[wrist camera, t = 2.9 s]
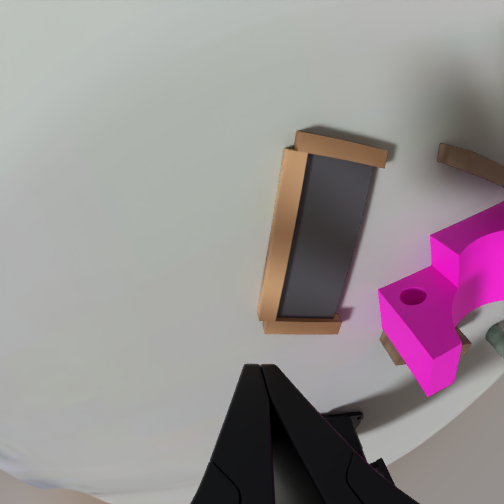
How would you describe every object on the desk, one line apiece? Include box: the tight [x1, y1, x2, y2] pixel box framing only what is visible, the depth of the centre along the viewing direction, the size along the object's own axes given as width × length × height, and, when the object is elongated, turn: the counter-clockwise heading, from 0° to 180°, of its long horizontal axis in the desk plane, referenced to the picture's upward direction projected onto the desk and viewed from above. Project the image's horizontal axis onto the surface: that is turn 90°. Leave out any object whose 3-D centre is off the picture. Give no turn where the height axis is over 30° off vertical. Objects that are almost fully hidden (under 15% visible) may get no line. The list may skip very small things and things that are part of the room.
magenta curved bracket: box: [378, 201, 504, 397], centre depth 16 cm, size 15×6×8 cm, turn 109°
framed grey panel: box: [257, 131, 504, 365], centre depth 18 cm, size 18×27×4 cm, turn 82°
